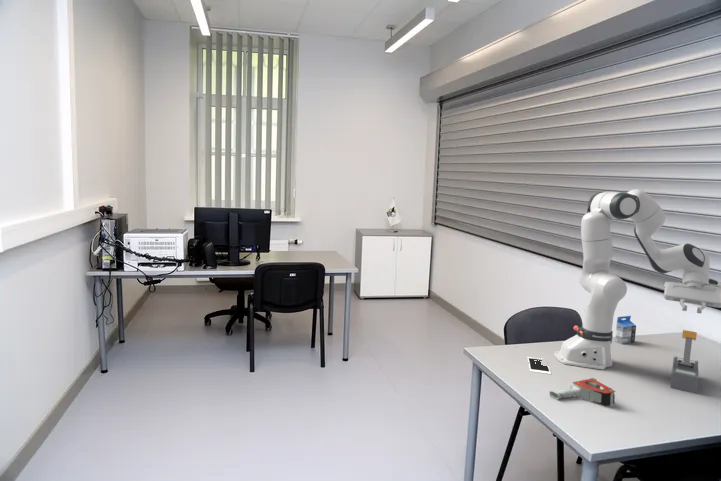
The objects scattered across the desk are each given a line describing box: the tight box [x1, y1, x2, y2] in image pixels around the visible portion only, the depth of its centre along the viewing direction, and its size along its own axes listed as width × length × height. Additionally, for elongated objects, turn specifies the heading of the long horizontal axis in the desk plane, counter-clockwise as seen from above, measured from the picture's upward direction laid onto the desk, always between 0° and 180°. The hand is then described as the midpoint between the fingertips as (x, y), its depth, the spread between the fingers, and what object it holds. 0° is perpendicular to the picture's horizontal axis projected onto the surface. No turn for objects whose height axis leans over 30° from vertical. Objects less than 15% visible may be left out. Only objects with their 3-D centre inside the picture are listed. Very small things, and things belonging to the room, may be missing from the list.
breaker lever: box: [678, 329, 698, 368], centre depth 183 cm, size 3×5×14 cm, turn 55°
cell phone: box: [526, 356, 552, 375], centre depth 193 cm, size 8×16×1 cm, turn 164°
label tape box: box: [614, 315, 637, 345], centre depth 226 cm, size 9×4×12 cm, turn 111°
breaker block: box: [670, 356, 700, 395], centre depth 181 cm, size 20×8×9 cm, turn 145°
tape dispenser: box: [548, 377, 616, 407], centre depth 165 cm, size 18×5×20 cm
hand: (691, 311), depth 189 cm, fingers open, 3 cm apart
